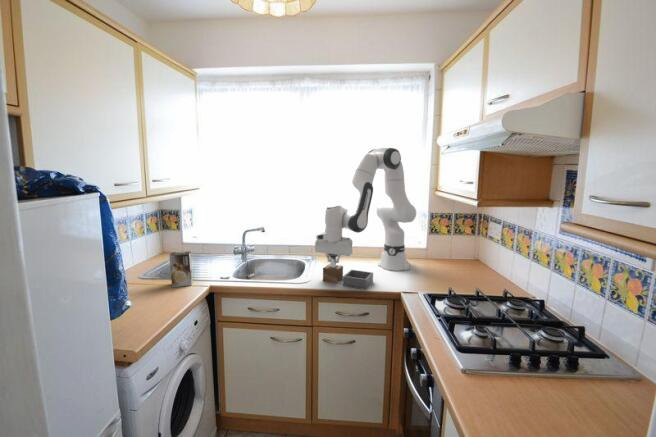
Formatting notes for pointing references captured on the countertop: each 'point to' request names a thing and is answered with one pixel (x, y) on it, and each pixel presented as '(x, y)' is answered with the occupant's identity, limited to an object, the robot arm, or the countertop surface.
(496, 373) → the countertop surface
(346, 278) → the charcoal tray
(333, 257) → the steel pin
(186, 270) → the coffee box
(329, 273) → the walnut hitch block
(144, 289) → the countertop surface
